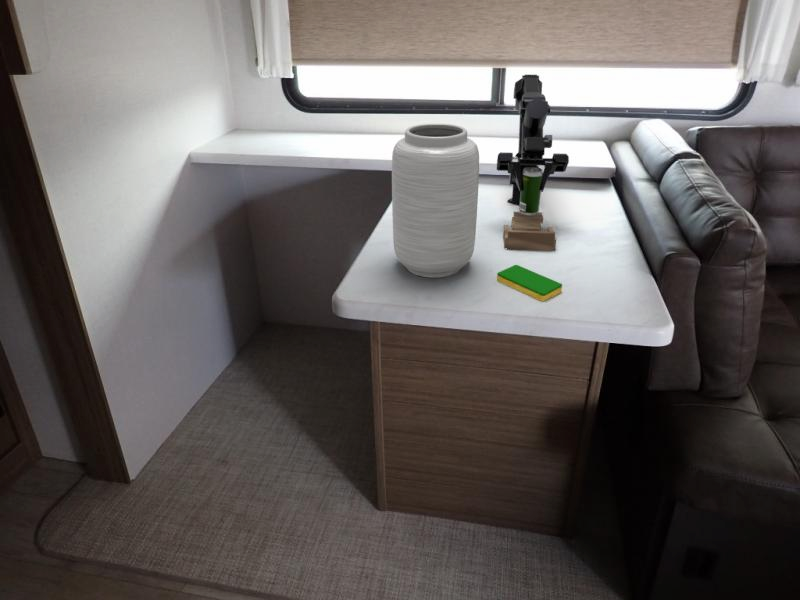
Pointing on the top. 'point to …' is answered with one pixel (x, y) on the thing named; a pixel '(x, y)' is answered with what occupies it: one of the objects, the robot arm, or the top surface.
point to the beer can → (530, 190)
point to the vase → (434, 199)
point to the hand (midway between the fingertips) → (531, 191)
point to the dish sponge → (529, 282)
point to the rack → (529, 239)
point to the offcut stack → (526, 222)
